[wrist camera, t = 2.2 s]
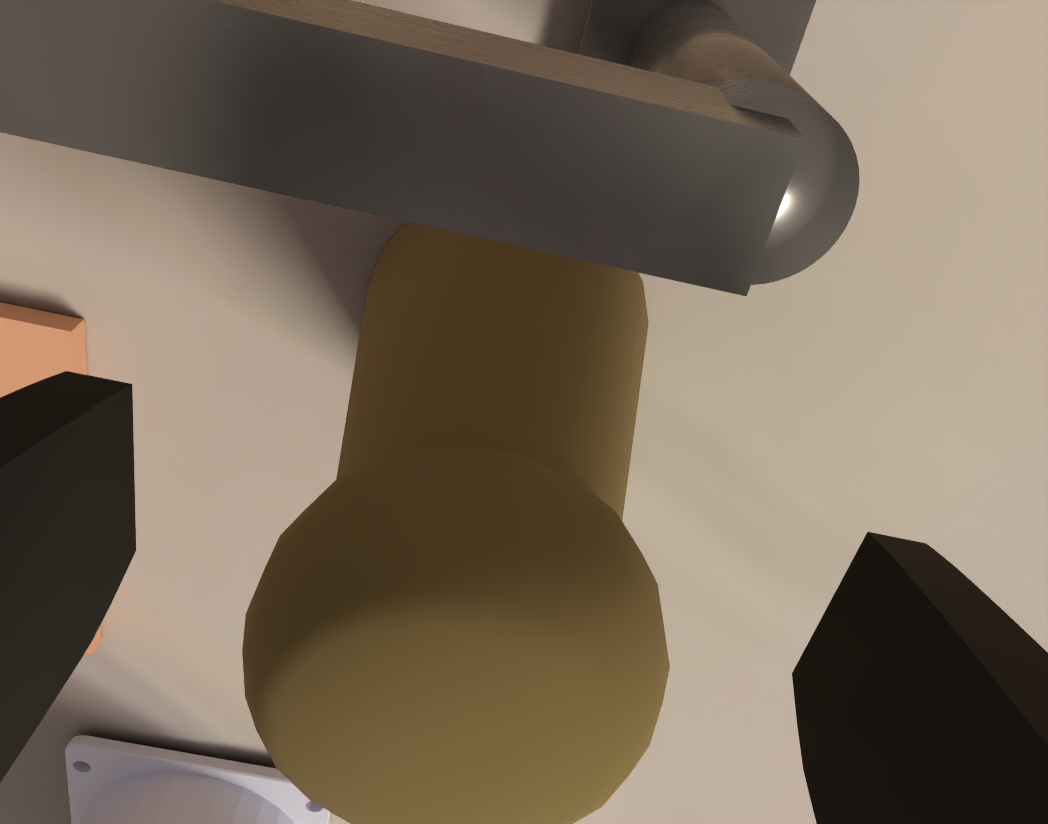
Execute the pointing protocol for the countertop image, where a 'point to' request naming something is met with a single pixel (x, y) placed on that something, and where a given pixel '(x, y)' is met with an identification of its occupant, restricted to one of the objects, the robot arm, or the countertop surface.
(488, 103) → the bent rail
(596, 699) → the cork
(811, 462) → the countertop surface
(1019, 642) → the robot arm
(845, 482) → the countertop surface
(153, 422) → the countertop surface
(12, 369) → the mat
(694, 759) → the countertop surface
